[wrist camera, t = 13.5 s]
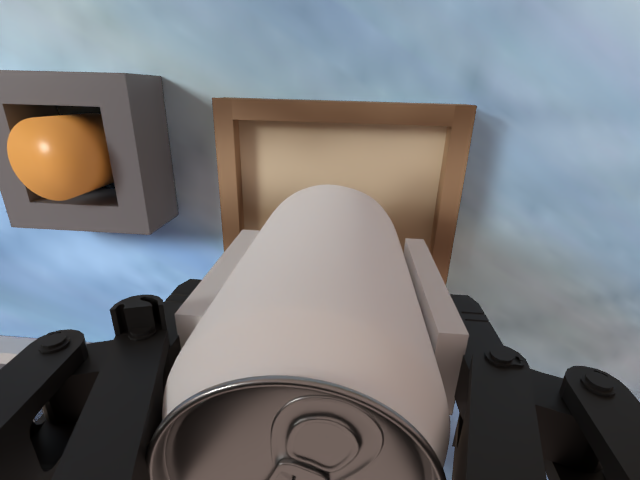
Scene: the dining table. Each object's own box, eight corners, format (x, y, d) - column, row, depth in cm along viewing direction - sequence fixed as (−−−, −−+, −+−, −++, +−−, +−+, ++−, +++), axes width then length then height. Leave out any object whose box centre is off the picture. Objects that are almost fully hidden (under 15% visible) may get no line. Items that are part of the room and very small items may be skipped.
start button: (59, 111, 21) (-4, 115, 17) (127, 114, 21) (77, 118, 17) (75, 181, 22) (20, 198, 19) (138, 184, 22) (95, 202, 18)
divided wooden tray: (224, 97, 20) (212, 98, 19) (465, 104, 20) (476, 105, 18) (247, 438, 30) (240, 461, 28) (408, 453, 29) (412, 477, 27)
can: (423, 217, 17) (556, 454, 6) (360, 323, 19) (370, 634, 8) (294, 157, 16) (171, 294, 5) (246, 274, 19) (92, 535, 8)
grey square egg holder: (24, 72, 21) (-37, 69, 18) (161, 76, 20) (124, 73, 17) (58, 208, 24) (11, 227, 21) (178, 214, 23) (150, 234, 20)
